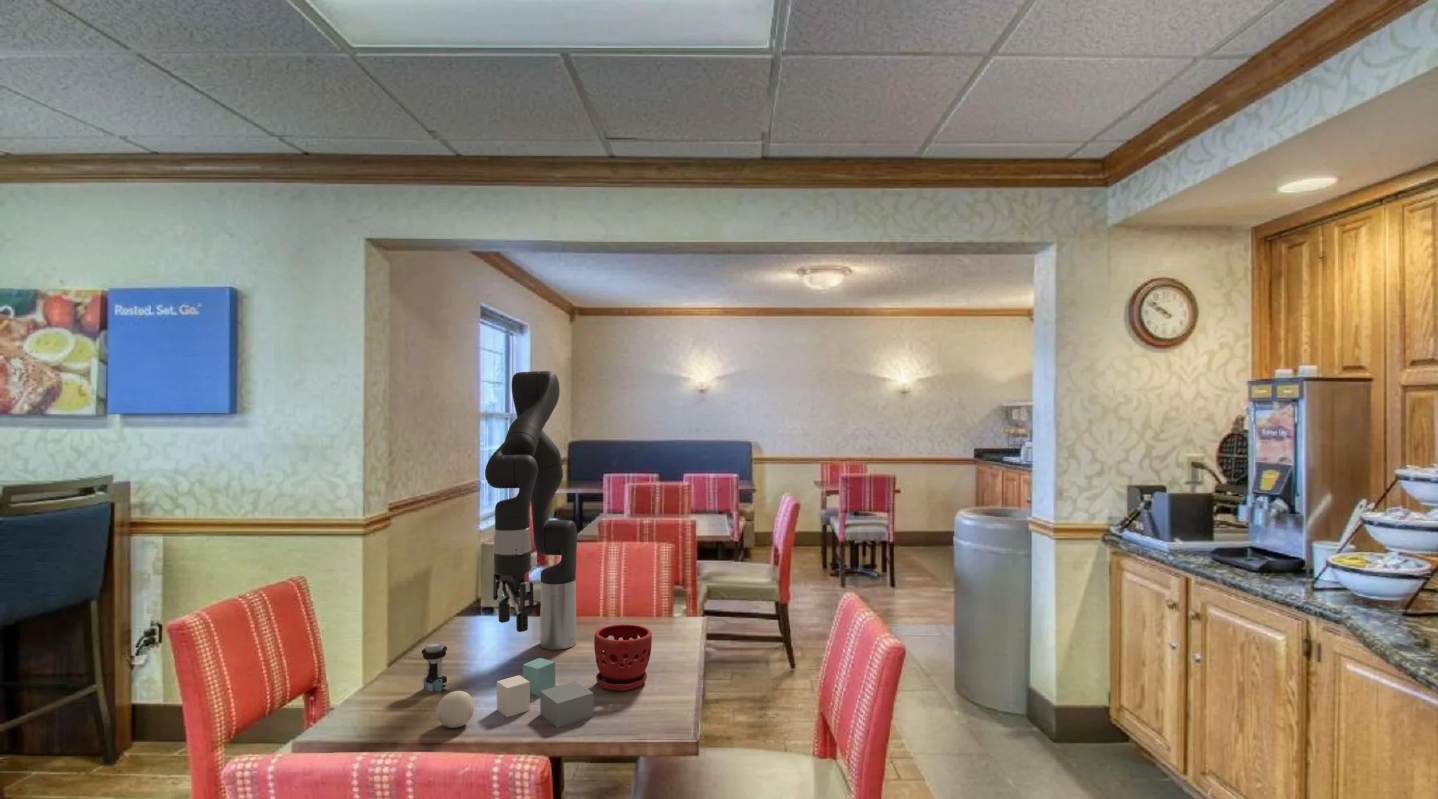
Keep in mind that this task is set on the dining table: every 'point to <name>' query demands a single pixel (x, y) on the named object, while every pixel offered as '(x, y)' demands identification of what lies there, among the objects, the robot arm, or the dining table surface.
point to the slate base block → (566, 704)
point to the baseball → (455, 709)
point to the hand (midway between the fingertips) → (513, 626)
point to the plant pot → (622, 656)
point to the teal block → (539, 675)
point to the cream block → (513, 696)
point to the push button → (435, 667)
